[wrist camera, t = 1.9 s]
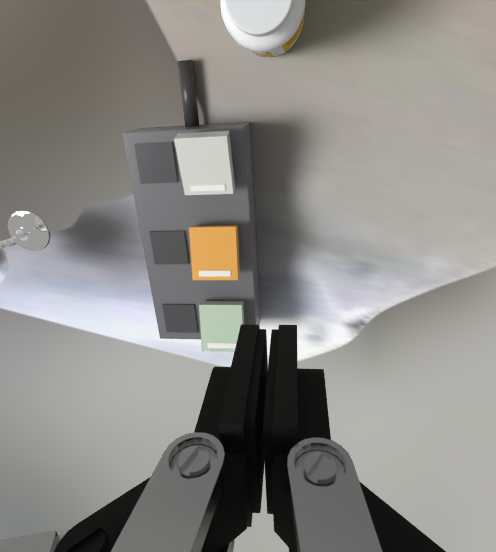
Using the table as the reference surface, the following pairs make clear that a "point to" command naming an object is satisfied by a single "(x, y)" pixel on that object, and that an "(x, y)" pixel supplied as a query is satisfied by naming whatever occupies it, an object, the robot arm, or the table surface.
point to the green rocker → (220, 324)
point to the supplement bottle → (264, 24)
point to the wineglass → (23, 236)
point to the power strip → (190, 219)
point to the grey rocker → (205, 162)
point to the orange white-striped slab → (214, 252)
